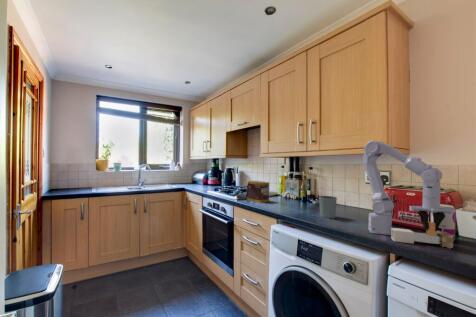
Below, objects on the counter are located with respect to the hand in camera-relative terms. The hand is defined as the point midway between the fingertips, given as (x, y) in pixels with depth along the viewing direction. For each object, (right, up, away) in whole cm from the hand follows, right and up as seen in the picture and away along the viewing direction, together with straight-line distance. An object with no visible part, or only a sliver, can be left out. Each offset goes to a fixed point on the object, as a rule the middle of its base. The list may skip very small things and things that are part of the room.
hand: (430, 229), depth 98 cm
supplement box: (-64, -5, +95) cm, 115 cm away
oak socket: (+4, -6, -1) cm, 8 cm away
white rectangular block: (-10, -6, +3) cm, 12 cm away
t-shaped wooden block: (-2, -6, +1) cm, 6 cm away
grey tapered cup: (-26, -6, +44) cm, 52 cm away
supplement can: (+11, -7, +7) cm, 15 cm away
